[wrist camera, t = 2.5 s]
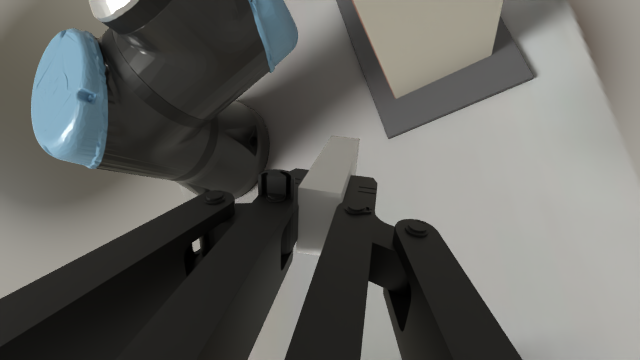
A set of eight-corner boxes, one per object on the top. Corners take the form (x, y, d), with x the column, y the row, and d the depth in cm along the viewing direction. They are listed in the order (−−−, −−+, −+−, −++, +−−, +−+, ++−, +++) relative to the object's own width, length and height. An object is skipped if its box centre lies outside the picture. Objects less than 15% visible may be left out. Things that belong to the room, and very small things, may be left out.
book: (491, 55, 34) (526, -108, 18) (395, 99, 38) (350, -2, 21) (478, 30, 35) (500, -147, 19) (385, 75, 38) (335, -39, 22)
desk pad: (532, 79, 33) (533, 76, 32) (388, 139, 38) (387, 137, 37) (439, -90, 40) (439, -94, 39) (329, -20, 45) (327, -23, 44)
